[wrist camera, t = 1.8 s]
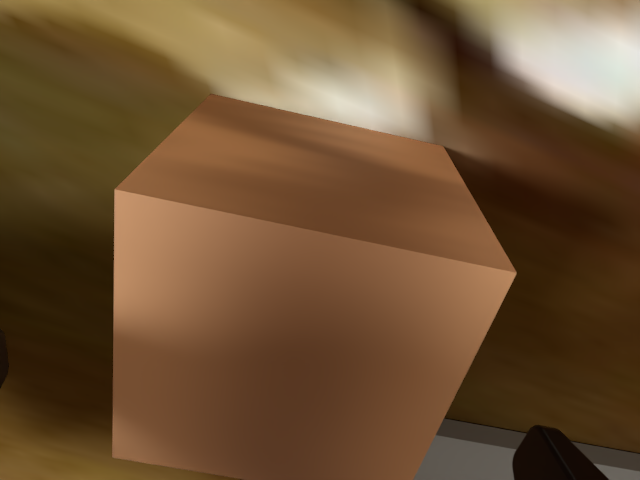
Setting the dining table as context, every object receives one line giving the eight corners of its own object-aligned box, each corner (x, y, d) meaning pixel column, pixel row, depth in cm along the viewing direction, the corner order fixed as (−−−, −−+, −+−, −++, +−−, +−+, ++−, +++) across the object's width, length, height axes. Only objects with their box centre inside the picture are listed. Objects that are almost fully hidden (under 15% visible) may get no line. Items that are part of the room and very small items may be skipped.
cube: (191, 286, 15) (112, 457, 10) (211, 92, 12) (114, 188, 7) (379, 322, 15) (399, 505, 10) (442, 145, 13) (516, 273, 7)
